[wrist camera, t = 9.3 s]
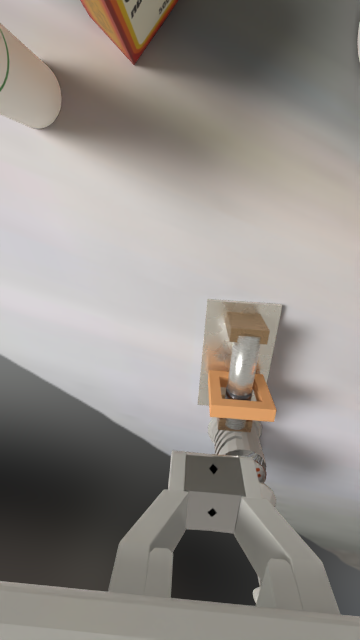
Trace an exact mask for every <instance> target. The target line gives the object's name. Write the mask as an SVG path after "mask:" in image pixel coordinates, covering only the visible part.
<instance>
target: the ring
mask: <svg viewBox="0 0 360 640" xmlns="http://www.w3.org/2000/svg"><path fill="white" fill-rule="evenodd" d="M228 376H229V372H226V371H213V370H209V375H208V391H209V407H210V417H219V418H231V419H244V420H256V421H269V422H274V419H275V414H276V407H275V405H274V402H273V399H272V397H271V394H270V392H269V389H268V386H267V384H266V381H265V379H264V376H263V374H255V377H254V382H253V388H252V390H253V391H254V394H255V397H256V401H246V400H233V399H222V396H221V388H220V387H226V386H227V384H228Z"/></svg>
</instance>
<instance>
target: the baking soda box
mask: <svg viewBox="0 0 360 640" xmlns="http://www.w3.org/2000/svg"><path fill="white" fill-rule="evenodd" d="M80 1H81V2H82V4H83V6H84V7H85V9H86V11H87V13H88V14H89V16H90V17H91V18H92V19H93V20H94V22H95V23H96V24H97V25H98V26H99V27H100V28H101V29H102V30H103V31H104V33H105V34H106V35H107V36H108V37H109V38H110V39H111V40H112V41H113V43H114V44H115V45H116V46H117V47H118V48H119V49H120V50H121V51H122V52H123V54H124V55H125V56H126V57H127V58H128V59H129V60H130V61H131V62H132V64H133V65H135V63H136V62H137V60H138V59H139V57H140V56H141V54H142V53H143V51H144V50H145V49H146V47H147V46H148V44H149V43H150V41H151V40H152V38H153V37H154V35H155V34H156V32H157V31H158V29H159V28H160V27H161V25H162V24H163V22H164V21H165V19H166V18H167V16H168V15H169V13H170V12H171V10H172V9H173V7H174V6H175V4H176V3H177V2H178V0H80Z"/></svg>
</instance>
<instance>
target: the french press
mask: <svg viewBox="0 0 360 640" xmlns="http://www.w3.org/2000/svg"><path fill="white" fill-rule="evenodd" d="M252 422H253V423H252V428H251V432H239V431H226V430H218V427H217V417H213V418H212V420H211V422H210V424H209V425H208V434H209V436H210V438H211V440H212V442H213V443H215V454H217V455H224V454H226V455H231V456H238V457H239V456H246V455H250V454H251V453H252V452H255V453H254V454H253V455H252V456H251V457H252V458H255V457H256V455H257V454H258V457H257V459H256V460H254V463H255V467H256V472H257V476H258V480H259V485H260V489H261V494H262V498H265V499H267V500H268V501H269V502H270V503H271V504H272V505H273V506H274V508H275V505H276V497H275V495H274V493H273V491H272V490H271V489H270V488H269V487H268V486H267V485H265V484H264V482H265V480H266V462H265V458H264V454H263V452H262V447H261V443H259V442H260V440H259V437H260V436H261V431H262V426H261V423H260V421H256V420H252ZM259 456H260V461H259V463H258V459H259ZM262 458H263V462H262V465H261V460H262ZM258 579H259V585H260V587H258V588H256V589H254V591H253V597H254V600H255V602H256V603H257V599H258V596H259V592H260V589H261V580H260V578H259V576H258Z"/></svg>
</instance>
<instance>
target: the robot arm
mask: <svg viewBox="0 0 360 640" xmlns="http://www.w3.org/2000/svg"><path fill="white" fill-rule="evenodd" d="M358 55H359V61H360V23H359V30H358ZM185 529H194V530H210V531H218V532H226V533H234V535H235V537H236V539H237V540H238V542H239V544H240V546H241V547H242V549H243V551H244V552H245V554H246V556H247V557H248V559H249V561H250V562H251V564H252V566H253V568H254V569H255V571H256V573H257V575H258V576H259V578H260V580H261V581H262V585H261V589H260V592H259V596H258V599H257V603H256V606H247V605H237V604H226V603H215V602H206V601H196V600H185V599H175V598H170V597H171V580H172V562H173V553H172V552H173V551H174V549H175V547H176V545H177V544H178V542H179V540H180V539H181V537H182V535H183V534H184V531H185ZM0 640H360V617H358V616H348V615H340V612H339V609H338V606H337V604H336V601H335V597H334V595H333V592H332V589H331V586H330V583H329V580H328V577H327V575H326V572H325V569H324V566H323V563H322V561H321V560H320V559H319V558H318V557H317V556H316V554H314V552H313V551H312V550H311V549H310V548H309V546H308V545H307V544H306V543H305V542H304V541H303V540H302V538H300V536H299V535H298V534H297V533H296V532H295V530H294V529H293V528H292V527H291V526H290V525H289V524H288V522H287V521H286V520H285V519H284V518H283V517H282V516H281V514H280V513H279V512H278V511H277V510H276V509H275V508H274V506H273V505H272V504H271V503H270V502H269V501H268V500H267V499H265V498H262V494H261V489H260V485H259V480H258V476H257V472H256V467H255V463H254V459H253V458H252V457H243V456H239V457H238V456H231V455H217V454H204V453H195V452H183V451H174V450H172V455H171V465H170V475H169V485H168V490H163V491H162V493H161V494H160V495H159V496H158V498H157V499H156V500H155V501H154V502H153V503H152V505H151V506H150V507H149V508H148V509H147V510H146V512H145V513H144V514H143V515H142V516H141V518H140V519H139V520H138V521H137V522H136V523H135V525H134V526H133V527H132V528H131V529H130V531H129V532H128V533H127V534H126V535H125V537H124V538H123V539H122V540H121V541H120V543H119V547H118V551H117V556H116V560H115V564H114V568H113V573H112V577H111V581H110V586H109V590H108V592H103V591H93V590H84V589H73V588H63V587H53V586H43V585H32V584H23V583H12V582H3V581H0Z"/></svg>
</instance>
